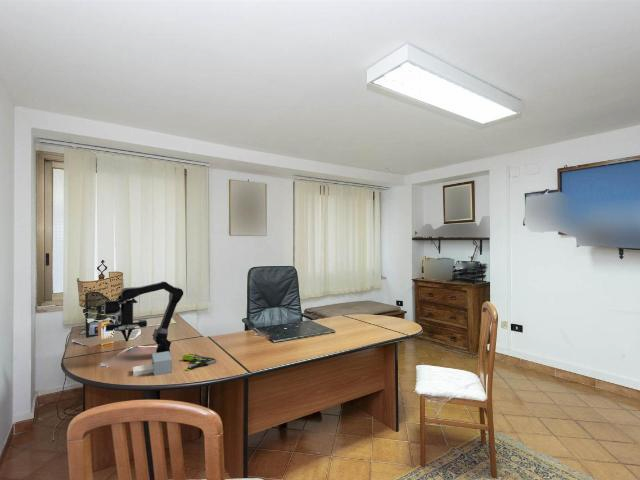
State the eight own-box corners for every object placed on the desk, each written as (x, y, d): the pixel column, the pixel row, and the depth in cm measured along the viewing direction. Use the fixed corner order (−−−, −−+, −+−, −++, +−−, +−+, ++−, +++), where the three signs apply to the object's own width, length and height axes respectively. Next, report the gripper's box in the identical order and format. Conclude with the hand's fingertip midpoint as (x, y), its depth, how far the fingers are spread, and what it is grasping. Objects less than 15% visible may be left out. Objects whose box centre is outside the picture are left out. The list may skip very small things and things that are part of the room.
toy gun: (168, 362, 170) (186, 351, 184) (168, 370, 170) (186, 358, 185) (201, 368, 165) (218, 356, 179) (201, 376, 165) (218, 363, 180)
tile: (163, 366, 174) (163, 361, 174) (165, 371, 168) (165, 366, 168) (132, 371, 166) (133, 367, 166) (133, 376, 160) (133, 371, 160)
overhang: (168, 363, 177) (168, 351, 177) (171, 372, 165) (171, 359, 165) (152, 366, 173) (152, 353, 173) (153, 375, 161) (154, 362, 161)
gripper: (146, 307, 188) (145, 335, 188) (106, 310, 178) (106, 339, 178) (147, 311, 178) (146, 340, 178) (105, 315, 169) (105, 345, 169)
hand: (126, 341), depth 176 cm, fingers closed
